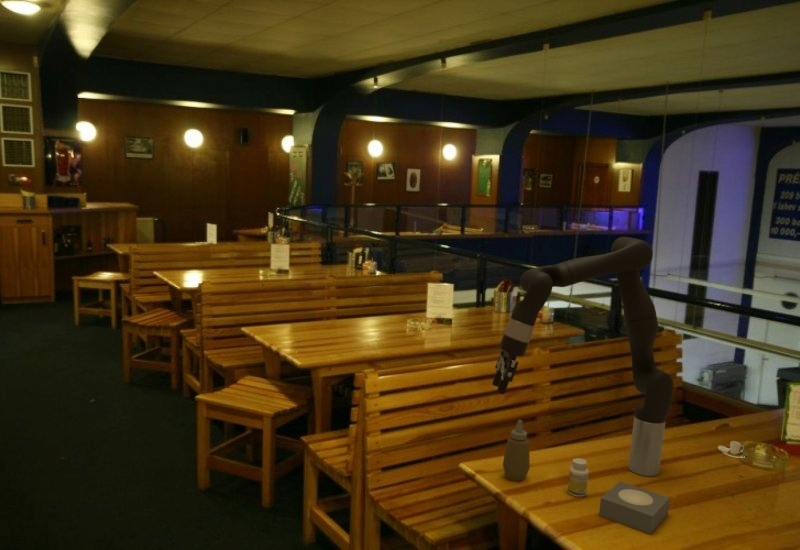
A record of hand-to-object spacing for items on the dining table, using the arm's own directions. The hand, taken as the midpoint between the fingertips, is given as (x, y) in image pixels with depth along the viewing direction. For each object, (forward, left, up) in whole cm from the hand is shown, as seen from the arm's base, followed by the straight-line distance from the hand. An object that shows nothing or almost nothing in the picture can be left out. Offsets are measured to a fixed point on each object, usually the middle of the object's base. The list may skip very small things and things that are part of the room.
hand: (497, 389), depth 198 cm
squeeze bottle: (-8, +4, -29) cm, 30 cm away
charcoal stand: (-11, +39, -28) cm, 49 cm away
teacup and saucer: (-81, +47, -29) cm, 98 cm away
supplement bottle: (-12, +22, -29) cm, 38 cm away
